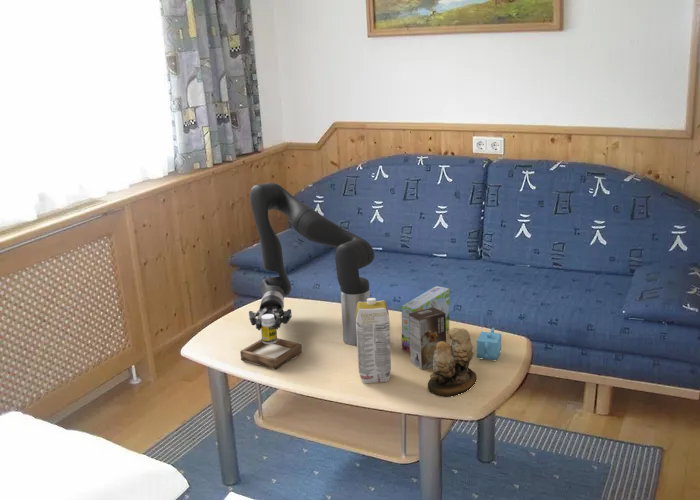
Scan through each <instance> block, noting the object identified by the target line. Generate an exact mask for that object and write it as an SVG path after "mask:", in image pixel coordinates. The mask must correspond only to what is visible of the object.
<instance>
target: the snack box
mask: <svg viewBox="0 0 700 500" xmlns="http://www.w3.org/2000/svg"><path fill="white" fill-rule="evenodd" d="M450 292H451V291H450V287H449V288H447V287H443V286H438V285H436V286H434V287H432V288H431V289H429V290H427V291H425V292H423V293H421V294H420V295H418V296H417V297H414V298H413V299H411V300H409V301H408V302H406V303H404V304H402V305H401V307H400V308H401V350H402V351H406V352H409V353H410V327H409V313H413V312H417V311H421V310H425V309H428V308H432V307H434V308H436V309H439V310H440V311H442V312H444V313H446V331H447V332H449V331H450V295H451V293H450ZM448 330H449V331H448Z"/></svg>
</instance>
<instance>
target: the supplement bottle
mask: <svg viewBox="0 0 700 500" xmlns="http://www.w3.org/2000/svg"><path fill="white" fill-rule="evenodd" d="M261 319H262V322H261V330H260V331H261V339H262V342H263V343H265V344H273V343H275V342H276V341H277V338H278V332H277V330H278V329H275V318H274V315H273V314H265V315H263V316H262V317H261Z"/></svg>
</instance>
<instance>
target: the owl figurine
mask: <svg viewBox="0 0 700 500" xmlns="http://www.w3.org/2000/svg"><path fill="white" fill-rule="evenodd" d="M448 337H449V339H450V341H451V342H450V344H449V342H447V341H446V342H444V341H441V342H438V343H437V346H436V349H435V351H434V355H433V356H434V359H433V367H432V369H433V371H434V372H432V373H430V374H429V377H430V378H429V380H428V383H427V389H428V391H429V393H430V394H432V395H434V396H437V397H439V398H440V397H442V398H451V396H453V397H457V396H459V395H458V394H460V395H462V394H461V393H463V394H465V393H467V392H468V391H469V389H470V388H471V387H472V386H473V385H474V384H475V385H476V383H477V381H476V380H477V379H478V377H477V373H476V372H475V371H474V370H472V369H471V368H470V367H469V366H470V363H471V361H472V359H473V356H474V352H473V349H474V345H473V344H472V342H471V340H472V338H471V334H470V333H469V331H468V330H467V329H465V328H459V327H452V328H451V329H449V331H448ZM475 382H476V383H475ZM475 385H474V386H475ZM474 386H473V387H474ZM473 387H472V388H473ZM472 388H471V389H472ZM471 389H470V390H471ZM467 390H468V391H467ZM466 391H467V392H466ZM464 392H465V393H464ZM456 395H457V396H456Z"/></svg>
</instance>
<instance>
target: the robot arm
mask: <svg viewBox="0 0 700 500" xmlns="http://www.w3.org/2000/svg"><path fill="white" fill-rule="evenodd" d="M249 201H250V207H251V210H252V214H253V218H254V222H255V223H254V224H255V226H256V230H257V233H258V237H259V241H260V247H261V259H262V265H263V269H264V270H265V271H268V272H275V273H277V275H278V276H273V277H272V276H270V277H265V278H264V279H262V280H261V282H260V291H261V295H262V297H261V301H260V304H259V305H260V306H259V309H258V310H257V311H256V312H254V311H252V310H249V311H248V317H249V318H248V320H249V321H250V324H251V326H255V329H257V331H261V322H262V319H261V317H262V316H263V315H265V314H273V315H274V318H275V329H277V330H279V328H281V325H282V324H283V325H286V324H288V323H289V321H290V320H291V318H292V316H293V315H292V309H291V308H289V309H287V310H284V308H285V297H288V296H289V295H290V294H291V291H292V283H291V281H290V279H289V277H288V274H287V272H286V268H285V263H284V255H283V247H282V243H281V241H280V239H279V237H278V235H277V234H276V232H275V231H274V229H273V227H272V224H271V221H270V219H269V218H270V217H269V211H273V210H274V211H275V210H276V211H279V212H281V214H282V213H283V214H284V215H286V217H288V218H289V222H290V224H291V227H292V228H293V230H294V231H295V232H297V234H298V235H301V236H302V237H303V238H305V239H306V240H308V241H311V242H313V243H316V244H321V245H325V246H329V247H333V248H335V249H336V250H335V255H334V259H335V269H336V278H337V282H338V285H339V287H340V288H339V289H340V301H341V302H340V303H341V304H340V306H341V320H342V321H341V322H342V335H343V336H342V338H343V339H342V340H343V342H344V343H345V344H347V345H353V346H357V330H356V309H357V303H358V302H367V299H368V298H371V295H370V282H369V280H368V279H367V278H365V277H361V276H360V272H359V270H360V269H362V268H365V267H367V266H369V265H370V264H371V263H372V262H374V259H375V252H374V249H373V247H372V245H371V244H370V242H368V241H367V240H365V239H364V238H362V237H361V236H358V235H356V234H354V233H352V232H351V231H348V230H346V229H344V228H342V227H341V226H339V225H338V224H336V223H334V222H333V221H331V220H330V219H328V218H327V217H325V216H324V215H322V214H321V213H319V212H318V211H317V210H315V209H312V208H311V207H310V206H308V205H306V204H305V203H304V202H302V201H301V200H299V199H297V198H296V197H295V196H293V195H292V194H291V193H290V192H289V191H287V190H286V188H284V187H283V186H281V185H280V184H278V183H275V182H269V183H259V184H255V185H253V186H252V187H251V189H250V192H249Z"/></svg>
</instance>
